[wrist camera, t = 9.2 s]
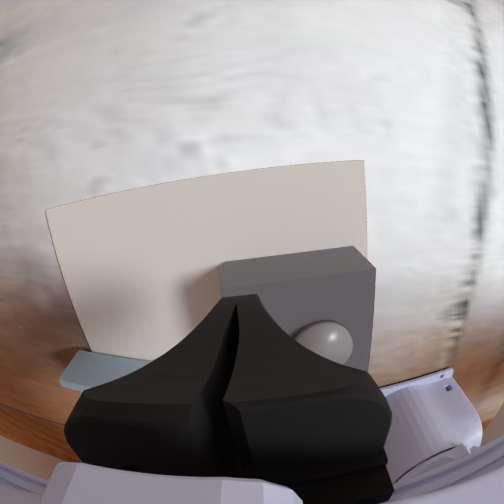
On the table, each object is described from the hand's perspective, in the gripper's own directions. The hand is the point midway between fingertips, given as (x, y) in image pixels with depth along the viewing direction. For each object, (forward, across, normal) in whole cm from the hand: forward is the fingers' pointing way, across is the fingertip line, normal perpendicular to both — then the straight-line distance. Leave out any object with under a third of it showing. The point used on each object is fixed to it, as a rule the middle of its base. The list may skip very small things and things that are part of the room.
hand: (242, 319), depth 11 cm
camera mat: (+9, +3, +4) cm, 11 cm away
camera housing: (+9, -3, +6) cm, 11 cm away
